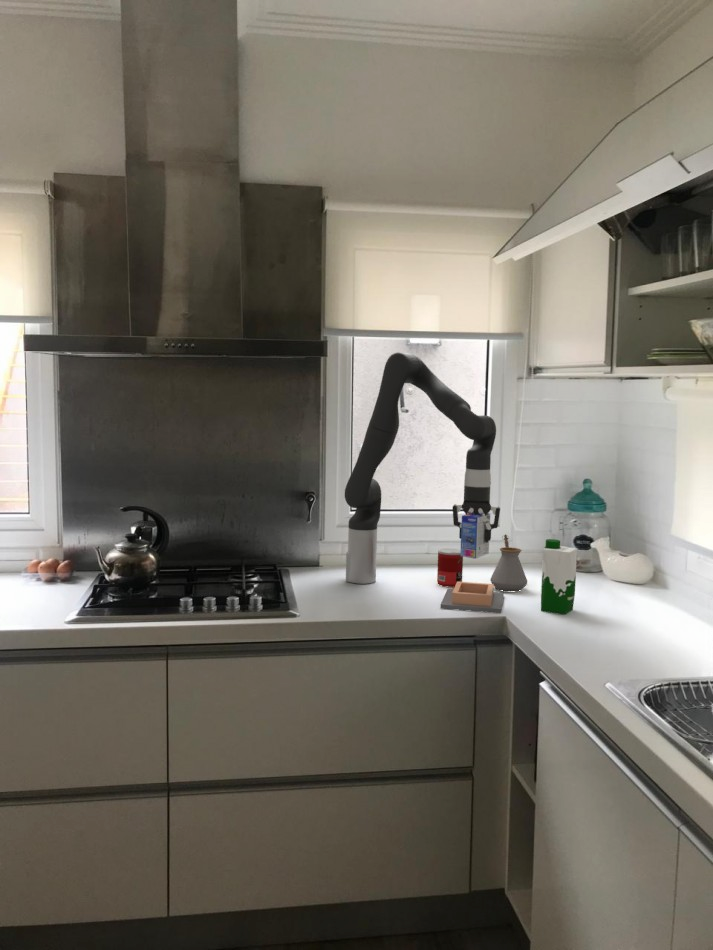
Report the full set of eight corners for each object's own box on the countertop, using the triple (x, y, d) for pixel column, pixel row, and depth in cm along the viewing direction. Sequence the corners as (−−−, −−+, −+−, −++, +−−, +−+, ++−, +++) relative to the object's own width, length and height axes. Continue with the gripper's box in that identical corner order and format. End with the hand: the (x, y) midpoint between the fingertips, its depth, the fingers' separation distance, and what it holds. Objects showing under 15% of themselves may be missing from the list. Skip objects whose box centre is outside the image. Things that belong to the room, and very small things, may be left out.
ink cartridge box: (471, 551, 249) (475, 503, 247) (489, 554, 246) (492, 505, 244) (458, 556, 240) (461, 506, 239) (476, 559, 238) (479, 509, 236)
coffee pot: (529, 594, 256) (531, 546, 255) (491, 592, 257) (493, 545, 255) (521, 579, 277) (523, 534, 276) (486, 577, 278) (488, 533, 277)
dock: (440, 608, 237) (440, 594, 236) (447, 592, 256) (448, 579, 256) (500, 613, 233) (501, 598, 233) (503, 596, 253) (504, 582, 252)
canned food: (461, 588, 262) (462, 553, 261) (436, 586, 264) (437, 552, 263) (462, 582, 270) (463, 549, 269) (437, 581, 271) (438, 547, 270)
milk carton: (546, 604, 244) (549, 537, 242) (577, 609, 239) (580, 540, 237) (536, 611, 236) (539, 541, 234) (568, 616, 232) (571, 545, 230)
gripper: (451, 484, 239) (449, 542, 241) (502, 487, 236) (499, 545, 238) (453, 482, 246) (451, 537, 248) (503, 484, 243) (500, 540, 245)
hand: (475, 541), depth 243 cm, fingers closed on ink cartridge box, 6 cm apart
